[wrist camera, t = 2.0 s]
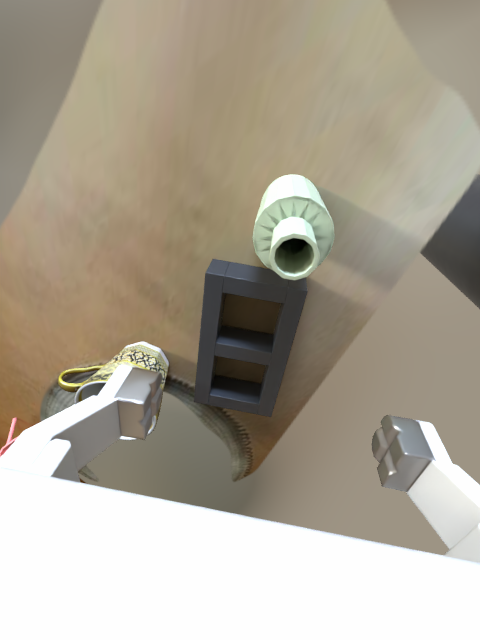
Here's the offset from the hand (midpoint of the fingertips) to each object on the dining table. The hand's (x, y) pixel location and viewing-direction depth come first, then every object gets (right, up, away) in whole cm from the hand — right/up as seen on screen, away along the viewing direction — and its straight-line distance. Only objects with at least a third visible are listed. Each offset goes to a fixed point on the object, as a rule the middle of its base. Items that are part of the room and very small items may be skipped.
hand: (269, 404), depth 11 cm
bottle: (+4, +15, +21) cm, 26 cm away
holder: (0, +1, +30) cm, 30 cm away
